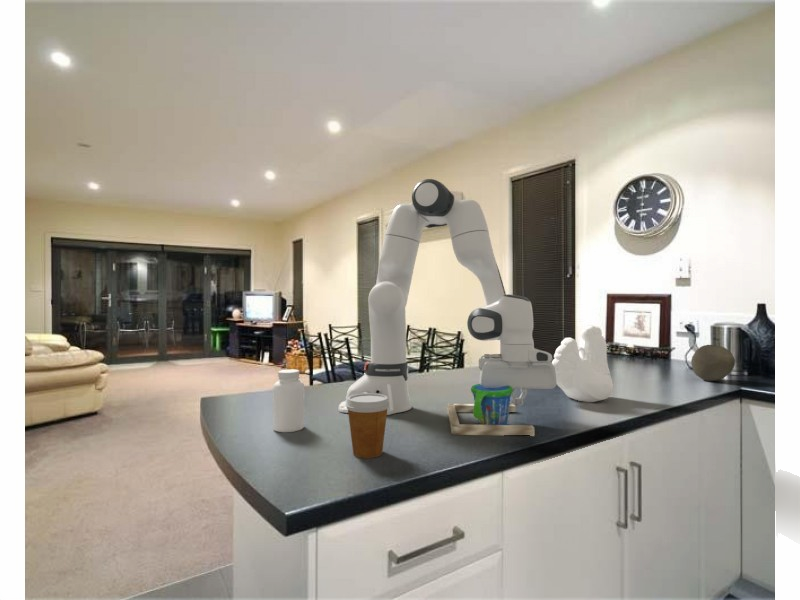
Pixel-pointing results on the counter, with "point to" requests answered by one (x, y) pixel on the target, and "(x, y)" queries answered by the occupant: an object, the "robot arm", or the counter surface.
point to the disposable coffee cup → (367, 423)
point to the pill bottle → (288, 402)
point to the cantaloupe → (712, 362)
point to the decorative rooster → (584, 367)
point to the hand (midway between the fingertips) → (517, 404)
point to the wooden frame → (483, 429)
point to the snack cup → (491, 404)
